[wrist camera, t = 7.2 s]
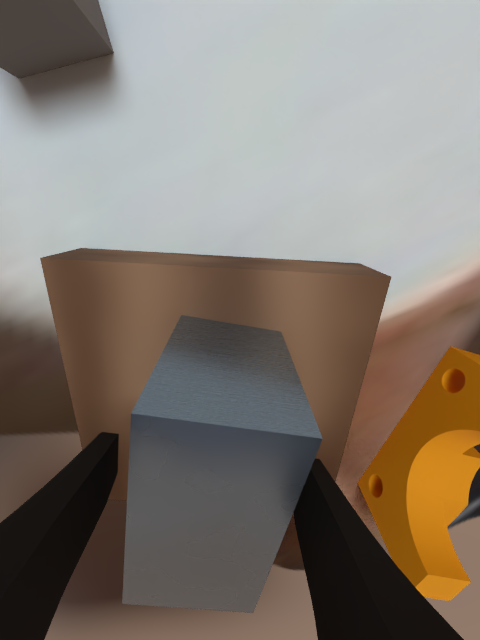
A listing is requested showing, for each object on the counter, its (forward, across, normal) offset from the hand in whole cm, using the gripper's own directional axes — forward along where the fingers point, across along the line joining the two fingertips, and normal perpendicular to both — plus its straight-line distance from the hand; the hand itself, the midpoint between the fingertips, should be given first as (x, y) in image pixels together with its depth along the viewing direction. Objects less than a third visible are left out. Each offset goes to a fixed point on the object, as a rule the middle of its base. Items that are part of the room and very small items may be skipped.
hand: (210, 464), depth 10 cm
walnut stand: (+6, 0, 0) cm, 6 cm away
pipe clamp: (+7, -14, +2) cm, 16 cm away
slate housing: (+3, 0, -1) cm, 3 cm away
